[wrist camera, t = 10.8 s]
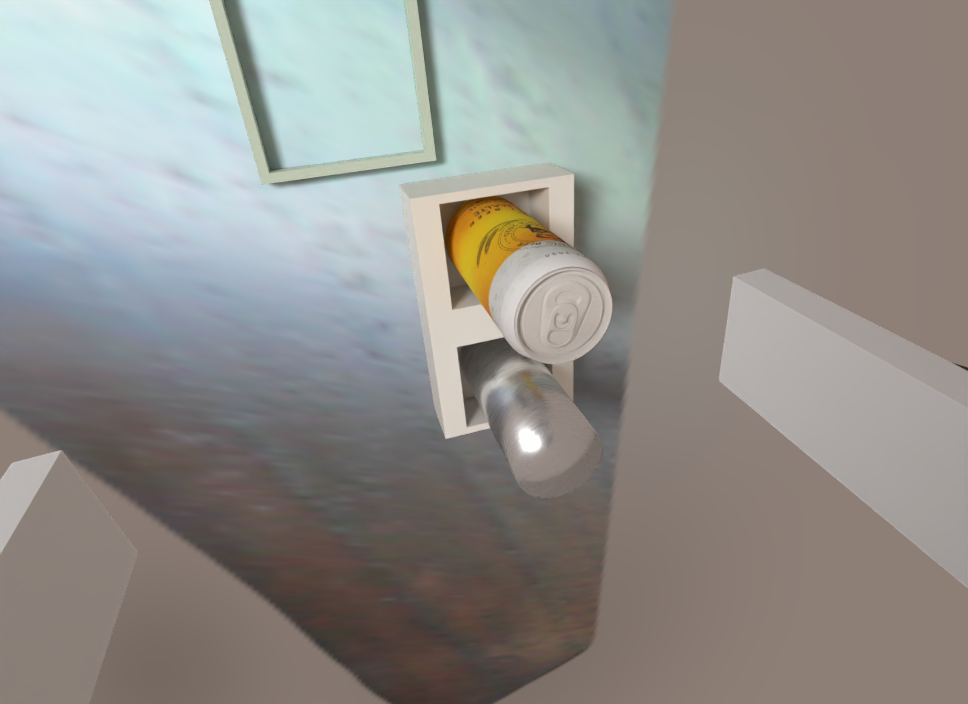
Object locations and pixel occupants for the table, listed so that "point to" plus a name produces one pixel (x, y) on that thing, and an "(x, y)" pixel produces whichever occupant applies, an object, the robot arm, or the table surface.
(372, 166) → the empty picture frame
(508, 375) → the shiny metal cylinder
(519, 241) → the beer can
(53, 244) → the table surface
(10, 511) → the robot arm
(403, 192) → the dock
